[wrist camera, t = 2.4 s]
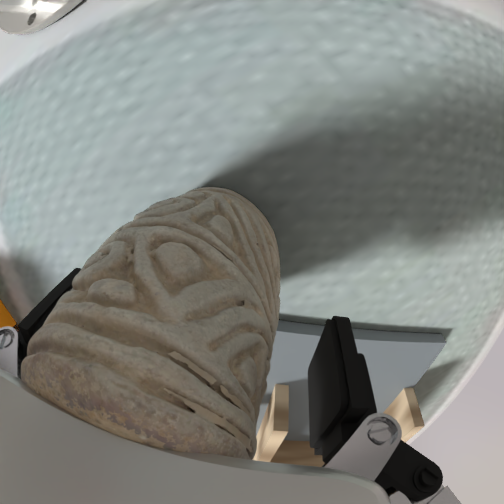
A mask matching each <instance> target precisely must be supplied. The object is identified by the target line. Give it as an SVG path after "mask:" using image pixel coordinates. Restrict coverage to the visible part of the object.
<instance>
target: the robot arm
mask: <svg viewBox="0 0 504 504" xmlns="http://www.w3.org/2000/svg"><path fill="white" fill-rule="evenodd" d="M81 1H83V0H0V28H1V29H2V31H4V32H6V33H8V34H17V35H23V34H31V33H33V32H36V31H39V30H42V29H43V28H45V27H47V26H49V25H50V24H52V23H54V22H55V21H57V20H58V19H60V18H61V17H62V16H64V15H65V14H67V13H68V12H69V11H71V10H72V9H73V8H74V7H75V6H76V5H78V4H79V3H80V2H81ZM80 270H81V269H80V268H76V269H74V270H73V271H72V272H71V273H70V274H69V275H68V276H67V277H65V278H64V279H63V280H62V281H61V282H60V283H59V284H58V285H57V286H56V287H55V288H54V289H53V290H52V291H51V292H50V293H49V294H48V295H47V296H46V297H45V298H44V299H43V300H42V301H41V302H40V303H39V304H38V305H37V306H36V307H35V308H34V309H33V310H32V311H31V312H30V313H29V314H28V315H27V316H26V317H25V318H24V319H23V320H22V322H21V323H20V324H19V325H18V327H19V329H20V331H19V332H18V333H17V331H16V329H14V328H13V327H10V326H6V327H2V328H0V504H461V503H460V501H459V500H458V499H457V498H456V496H455V495H454V494H453V492H452V491H451V490H450V489H449V487H448V486H446V487H443V485H442V481H443V476H442V472H441V470H440V468H439V467H438V466H437V465H436V464H435V463H434V462H432V461H431V460H429V459H428V458H426V457H425V456H424V455H422V454H420V453H419V452H418V451H416V450H415V449H414V448H412V447H411V446H409V445H408V444H406V443H405V442H404V441H402V440H401V437H402V430H401V427H400V425H399V423H398V422H397V420H396V419H394V418H393V417H392V416H390V415H388V414H385V413H377V408H376V403H375V399H374V394H373V389H372V385H371V381H370V376H369V372H368V368H367V364H366V360H365V357H364V355H363V354H362V353H358V352H357V347H356V343H355V339H354V335H353V331H352V327H351V323H350V320H349V318H347V317H339V316H333V318H332V320H331V319H328V320H327V321H326V324H325V327H324V329H323V332H322V335H321V337H320V340H319V342H318V345H317V347H316V350H315V352H314V355H313V357H312V360H311V362H310V365H309V368H308V397H309V438H310V447H311V448H314V455H322V461H323V462H324V463H325V464H324V465H323V466H322V467H317V466H305V465H295V464H283V463H273V462H264V461H256V460H249V459H242V458H235V457H229V456H223V455H218V454H209V453H189V452H180V451H173V450H167V449H162V448H158V447H154V446H149V445H145V444H142V443H139V442H135V441H132V440H129V439H126V438H123V437H121V436H118V435H115V434H113V433H110V432H108V431H106V430H103V429H101V428H98V427H96V426H94V425H92V424H90V423H88V422H86V421H84V420H82V419H80V418H78V417H76V416H74V415H72V414H71V413H69V412H67V411H65V410H64V409H62V408H60V407H58V406H57V405H55V404H53V403H52V402H50V401H48V400H47V399H45V398H44V397H42V396H40V395H39V394H37V393H36V392H35V391H33V390H32V389H31V388H29V387H28V386H27V385H26V384H25V383H24V382H23V381H22V379H21V363H22V361H23V360H24V358H25V357H27V348H28V343H29V341H30V339H31V337H32V336H33V335H34V334H35V333H36V332H37V331H38V330H39V329H40V328H41V327H42V326H43V324H44V322H45V320H46V319H47V317H48V316H49V314H50V313H51V311H52V310H53V309H54V307H55V306H56V304H57V302H58V300H59V299H60V298H61V296H62V295H64V294H65V293H66V292H68V291H71V289H72V288H73V286H72V282H73V279H74V277H75V276H76V275H77V274H78V273H79V272H80Z"/></svg>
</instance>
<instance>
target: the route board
mask: <svg viewBox="0 0 504 504" xmlns="http://www.w3.org/2000/svg"><path fill="white" fill-rule="evenodd" d="M324 327H325V326H322V325H313V324H305V323H296V322H289V321H281V320H278V326H277V330H276V336H275V340H274V344H273V351H272V357H271V360H270V365H271V366H270V371H269V374H268V376H267V379H266V381H267V390H266V393H265V394H264V397H263V399H262V402H261V405H260V412H259V416H258V420H257V426H256V436H257V433H258V431H259V428H260V426H261V423H262V420H263V417H264V415H265V412H266V409H267V407H268V404H269V401H270V398H271V395H272V392H273V390H274V387H275V384H281V385H289V422H288V433H287V435H286V436H285V438H284V440H289V441H310V438H309V397H308V368H309V365H310V362H311V360H312V357H313V355H314V352H315V350H316V347H317V345H318V342H319V340H320V337H321V335H322V332H323V329H324ZM352 331H353V335H354V339H355V343H356V347H357V352H358V353H362V354H363V355H364V357H365V360H366V364H367V368H368V372H369V376H370V381H371V385H372V389H373V394H374V399H375V403H376V408H377V413H383V412H384V411H385V410H386V409H387V408H388V407H389V405H390V404H391V403H392V402H393V401H394V400H395V398H396V397H397V396H398V395H399V394H400V392H401V391H402V390H403V389H404V388H413V387H414V386H415V385H416V384H417V382H418V381H419V380H420V378H421V377H422V376H423V375H424V373H425V372H426V371H427V369H428V368H429V367H430V365H431V364H432V363H433V361H434V360H435V359H436V357H437V356H438V354H439V353H440V351H441V350H442V349H443V347H444V346H445V344H446V341H445V339H444V337H443V335H442V334H432V333H409V332H392V331H377V330H364V329H353V328H352Z"/></svg>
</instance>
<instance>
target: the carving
mask: <svg viewBox="0 0 504 504" xmlns="http://www.w3.org/2000/svg"><path fill="white" fill-rule="evenodd" d="M72 286H73V288H72V289H71V291H68V292H66V293H65V294H64V295H62V296H61V298H60V299H59V300H58V302H57V304H56V306H55V307H54V309H53V310H52V311H51V313H50V314H49V316H48V317H47V319H46V320H45V322H44V324H43V326H42V327H41V328H40V329H39V330H38V331H37V332H36V333H35V334H34V335H33V336H32V337H31V339H30V341H29V343H28V348H27V357H25V358H24V360H23V361H22V363H21V379H22V381H23V382H24V383H25V384H26V385H27V386H28V387H29V388H31V389H32V390H33V391H35V392H36V393H37V394H39V395H40V396H42V397H44V398H45V399H47V400H48V401H50V402H52V403H53V404H55V405H57V406H58V407H60V408H62V409H64V410H65V411H67V412H69V413H71V414H72V415H74V416H76V417H78V418H80V419H82V420H84V421H86V422H88V423H90V424H92V425H94V426H96V427H98V428H101V429H103V430H106V431H108V432H110V433H113V434H115V435H118V436H121V437H123V438H126V439H129V440H132V441H135V442H139V443H142V444H145V445H149V446H154V447H158V448H162V449H167V450H173V451H180V452H189V453H209V454H218V455H223V456H229V457H235V458H242V459H249V460H252V459H253V458H254V456H255V453H256V449H257V438H256V426H257V420H258V416H259V412H260V405H261V402H262V399H263V397H264V394H265V393H266V390H267V381H266V379H267V376H268V374H269V371H270V366H271V365H270V360H271V357H272V351H273V344H274V340H275V336H276V330H277V326H278V320H279V309H280V297H279V294H280V260H279V250H278V245H277V240H276V237H275V234H274V231H273V229H272V227H271V226H270V224H269V222H268V221H267V219H266V218H265V216H264V215H263V214H262V213H261V211H260V210H259V209H258V208H257V207H256V206H255V205H253V204H252V203H251V202H250V201H249V200H247V199H246V198H245V197H243V196H241V195H240V194H238V193H236V192H234V191H232V190H229V189H225V188H218V187H204V188H197V189H193V190H190V191H188V192H187V193H185V194H183V195H181V196H178V197H176V198H170V199H167V200H163V201H160V202H157V203H155V204H153V205H151V206H150V207H149V208H148V209H146V210H144V211H143V212H140V213H139V214H137V215H136V216H135V217H134V220H133V221H131V222H129V223H127V224H125V225H123V226H122V227H120V228H119V229H118V230H116V231H115V232H114V233H113V234H112V235H111V236H110V237H109V238H108V239H107V240H106V241H105V242H104V243H103V244H102V245H101V246H100V247H99V249H98V250H97V251H96V252H95V253H94V254H93V255H92V256H91V257H90V258H89V259H88V260H87V261H86V263H85V265H84V266H83V267H82V269H81V270H80V272H79V273H78V274H77V275H76V276H75V277H74V279H73V282H72Z"/></svg>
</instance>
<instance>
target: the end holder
mask: <svg viewBox="0 0 504 504" xmlns="http://www.w3.org/2000/svg"><path fill="white" fill-rule="evenodd" d="M383 413H385V414H388V415H390V416H392V417H393V418H394V419H396V420H397V422H398V423H399V425H400V427H401V430H402V437H401V440H402V441H404V442H406V441H408V440H409V439H410V438H411V437H412V436H414V435H415V434H416V433H417V432H418V431H419V430H420V429H421V428H423V427H424V422H423V419H422V415H421V412H420V408H419V405H418V402H417V398H416V395H415V392H414V389H413V388H404V389H403V390H402V391H401V392H400V394H399V395H398V396H397V397H396V398H395V400H394V401H393V402H392V403H391V404H390V405H389V407H388V408H387V409H386V410H385V411H384V412H383ZM288 422H289V385H281V384H275V387H274V390H273V392H272V395H271V398H270V401H269V404H268V407H267V409H266V412H265V415H264V417H263V420H262V423H261V426H260V428H259V431H258V433H257V436H256V438H257V449H256V453H255V456H254V458H253V460H256V461H264V462H273V463H283V464H295V465H305V466H317V467H322V466H323V465H324V464H325V463H324V462H323V461H322V455H314V448H311V447H310V441H289V440H284V438H285V436H286V435H287V433H288Z"/></svg>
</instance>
